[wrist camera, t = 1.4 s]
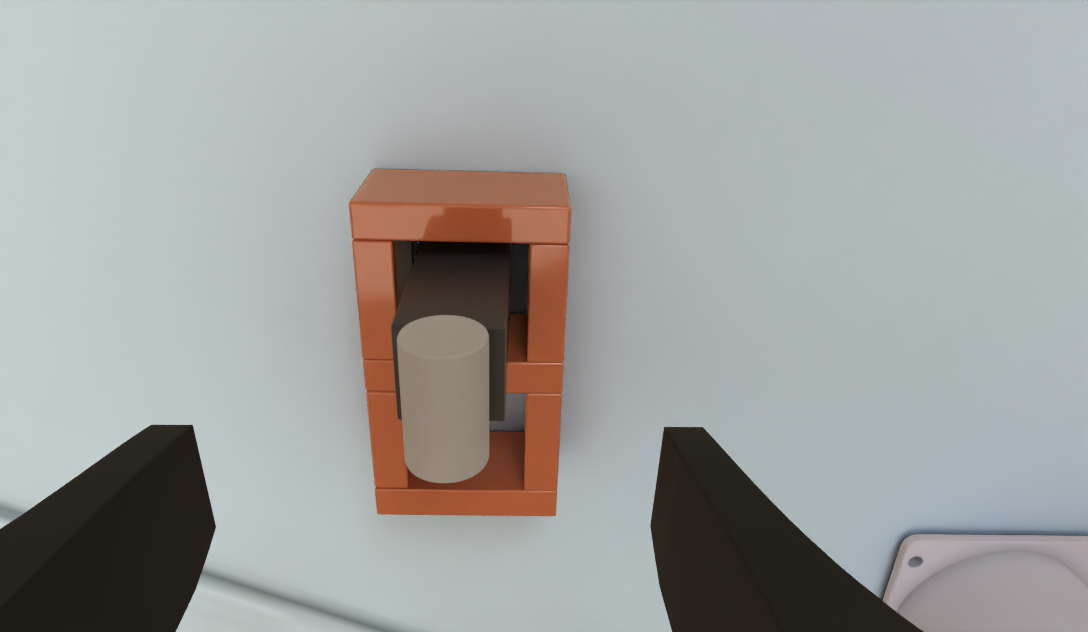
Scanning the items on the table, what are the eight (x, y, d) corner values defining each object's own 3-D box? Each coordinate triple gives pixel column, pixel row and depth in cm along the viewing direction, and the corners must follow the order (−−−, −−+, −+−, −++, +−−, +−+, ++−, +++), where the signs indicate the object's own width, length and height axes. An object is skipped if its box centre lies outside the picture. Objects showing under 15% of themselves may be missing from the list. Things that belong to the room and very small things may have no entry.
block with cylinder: (510, 306, 22) (501, 485, 15) (431, 304, 22) (383, 484, 15) (511, 212, 21) (503, 357, 14) (427, 210, 21) (372, 356, 14)
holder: (552, 455, 25) (556, 517, 22) (392, 453, 25) (376, 515, 22) (565, 172, 21) (571, 207, 18) (371, 168, 20) (348, 201, 18)
